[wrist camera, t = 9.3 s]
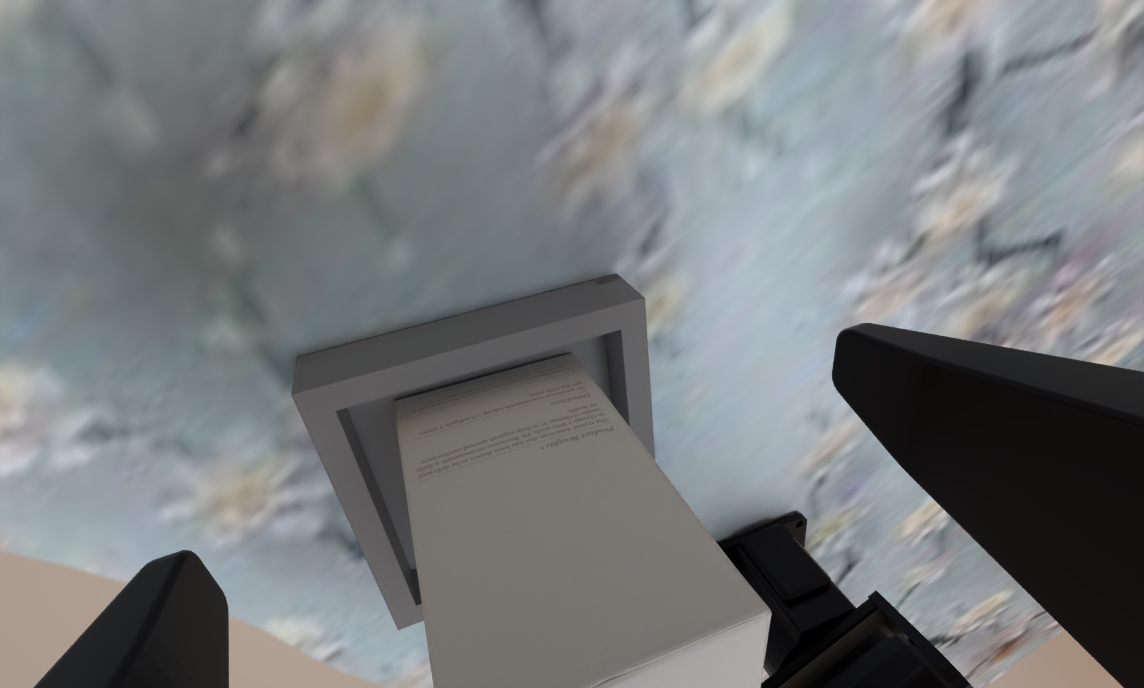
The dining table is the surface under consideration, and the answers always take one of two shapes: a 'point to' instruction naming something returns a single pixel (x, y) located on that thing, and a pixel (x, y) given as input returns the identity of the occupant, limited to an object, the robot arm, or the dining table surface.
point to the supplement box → (563, 545)
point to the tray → (444, 358)
